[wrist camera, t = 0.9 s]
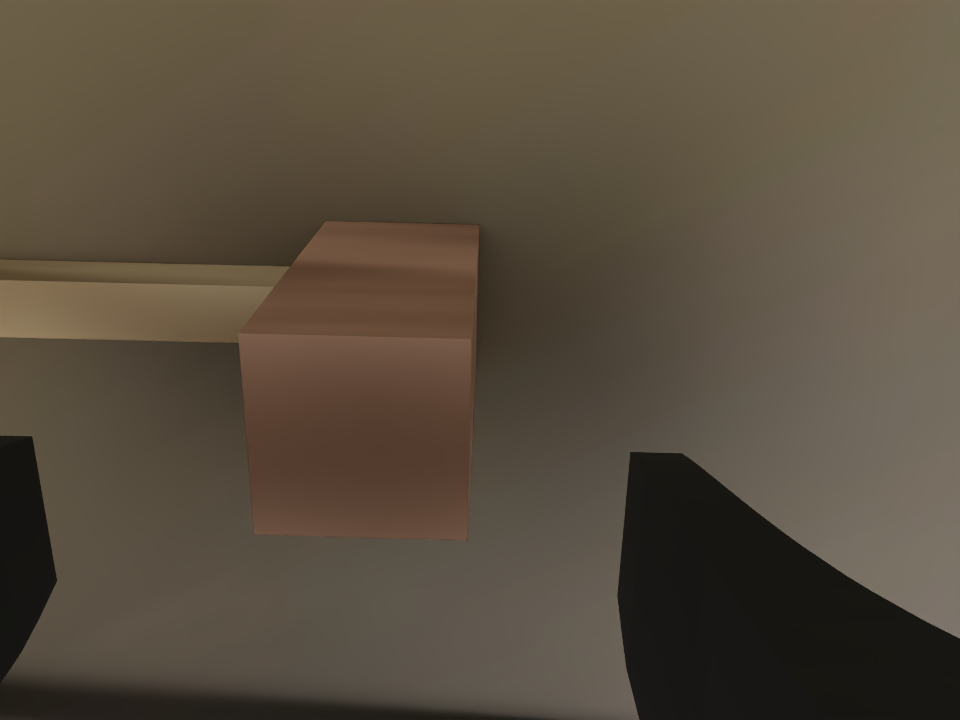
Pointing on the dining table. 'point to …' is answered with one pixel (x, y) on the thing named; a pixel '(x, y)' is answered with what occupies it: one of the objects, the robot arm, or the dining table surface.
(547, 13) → the dining table surface
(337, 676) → the dining table surface
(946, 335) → the dining table surface
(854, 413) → the dining table surface
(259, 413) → the push blade
